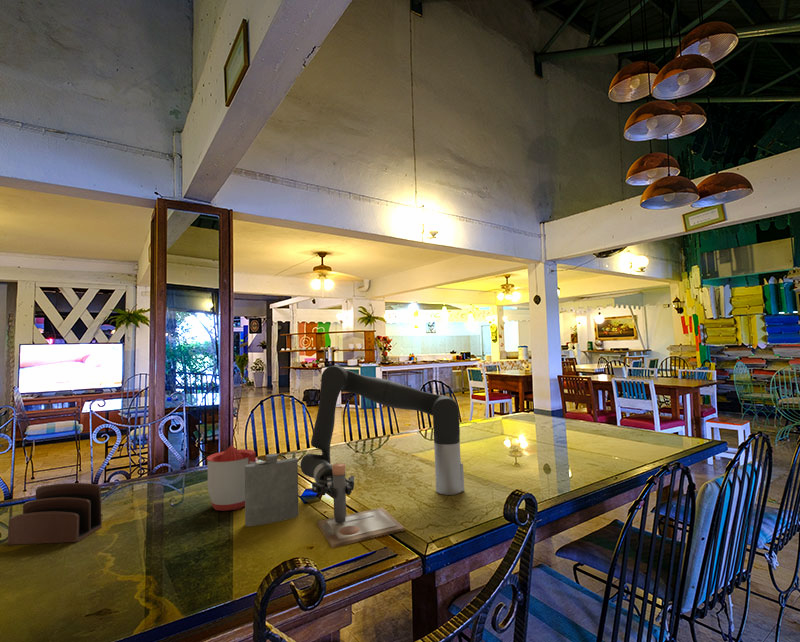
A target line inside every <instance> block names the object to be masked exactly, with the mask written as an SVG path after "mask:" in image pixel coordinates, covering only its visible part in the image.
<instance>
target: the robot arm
mask: <svg viewBox="0 0 800 642" xmlns="http://www.w3.org/2000/svg"><path fill="white" fill-rule="evenodd" d="M320 379H321V381H320V393H319V403H318V409H317V413H316V418H315V422H314V427H313V432H312V435H311V436H312V437H311V438H310V439H311V440H310V445H311V447H313V448H315V449H317V450H320V451H321V454H316V453H307V454H305V455H304V456H302V458H301V459H300V460H301V461H300V470H301V472H302V474H303V475H304V476H307V477H309V478H312V479H313V480H314V481H315V482H314V481H313V482H312V483H311V492H312V493H315V494H318V495H320V496H326V494H327V496H330V497H332V498H336V497H337V496H336V489H335V488H334V487H333V474H332V465H333V464H332V463H331V442H332V438H333V433H334V429H335V421H336V419H335V417H336V408H337V402H338V398H339V396H340V393H341V392H345V393H350V394H355V395H358V396H361V397H363V398H365V399H366V400H368V401H369V400H370V401H372V402H374V403H376V404H379V405H382V406H385V407H390V408H394V409H399V410H407V411H418V412H422V413H424V414H427V415H429V416H432V422H433V423H432V425H433V426H432V427H433V428H432V429H433V446H434V447H433V449H434V472H435V491H436V493H437V494H440V495H445V496H451V495H452V496H453V495H459V494H460V493H462V492H464V491H465V473H464V463H463V462H462V461H461V460H462V459H461V441H460V437H461V431H460V430H461V429H460V425H461V424H460V409H459V406H458V403H457V402H456V400H455V399H454V398H453V397H451V396H448V395H442V394H436V393H430V392H425V391H422V390H419V389H417V388H414V387H412V386H409V385H406V384H402V383H399V382H397V381H392V380H390V379H386V378H381V377H374V376H366V375H362V374H359V373H356V372H354V371H351V370H349V369H346V368H344V367H342V366H339V365H329V366H328V367H326V368H325V369H324V370H323V371H322V373H321V378H320ZM345 484H346V495H347V496H351V494H352V491H353V490H354V489H355V476H354V475H351V476H349V477H348V478H346V477H345Z"/></svg>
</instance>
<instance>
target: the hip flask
mask: <svg viewBox="0 0 800 642" xmlns="http://www.w3.org/2000/svg"><path fill="white" fill-rule="evenodd" d="M278 457H279V454H278V453H268V454H265V459H266V460H263V461H264V462H258V463H255V464H248V465H245V506H244V521H245V523H244V525H245V527H257V526H262V525H263V526H264V525H268V524H269V525H270V524H273V523H277V522H282V521H286V520H291V519H293V518H294V519H295V518H297V517H299V515H300V514H299V512H300V511H299V472H298V471H299V467H298V466H299V464H298V462H299V461H298V458H297V457H291V458H286V459H280V460H279V461H277V459H278Z"/></svg>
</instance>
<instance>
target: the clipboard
mask: <svg viewBox="0 0 800 642" xmlns="http://www.w3.org/2000/svg"><path fill="white" fill-rule="evenodd" d="M316 525H317V526H318V528H319V529H320V532H322V534H323V536H324V537H325V539H326V541H327V543H328V544H329V546H330V547H331V548H334V549H335V548H336V547H340V546H341V547H342V546H346V545H350V544H354V543H358V542H361V541H362V540H363V541H366V539H367V540H370V539H369V538H371V539H376V538H379V537H378V536H380V537H383V536H382V535H384V536H388V535H391V534H392V535H393V534H395V533H394V532H397V533H399V532H398V531H401V532H405V531H404V530H406V529H405V527H404V526H403V525H402V524H401V523H400V522H399V521H398V520H397V519H395V517H393V516H392V515H391V514H390V513H389V512H388V511H387V510H385V509H384V508H383V507H378V508H373V509H370V510H364V511H358V512H355V513H351V514H350V513H349V514H346V518H345V522H343V523H336V522H335V518H334V517H331V518H330V517H329V518H326V519H325V518H324V519H322V520H321V519H320V520H317V521H316ZM375 537H376V538H375ZM363 541H362V542H363Z"/></svg>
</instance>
